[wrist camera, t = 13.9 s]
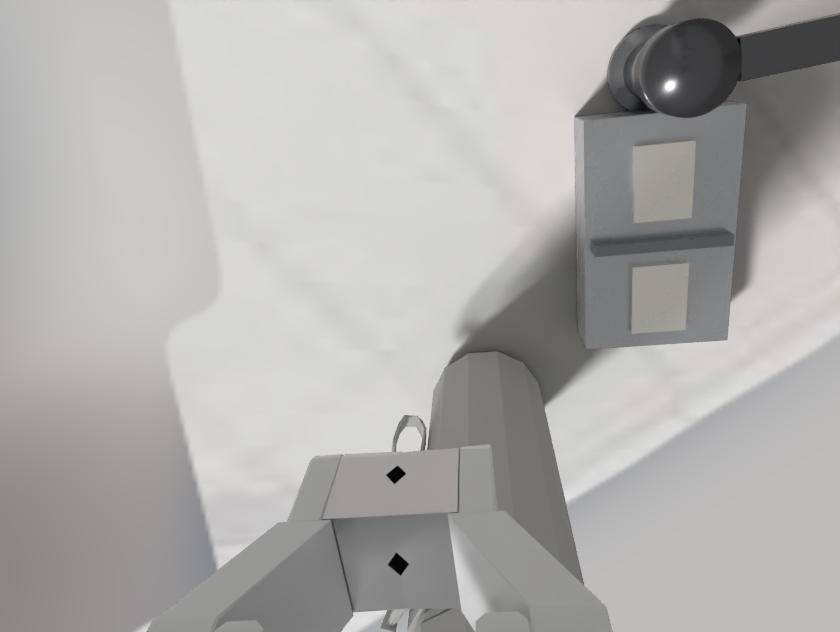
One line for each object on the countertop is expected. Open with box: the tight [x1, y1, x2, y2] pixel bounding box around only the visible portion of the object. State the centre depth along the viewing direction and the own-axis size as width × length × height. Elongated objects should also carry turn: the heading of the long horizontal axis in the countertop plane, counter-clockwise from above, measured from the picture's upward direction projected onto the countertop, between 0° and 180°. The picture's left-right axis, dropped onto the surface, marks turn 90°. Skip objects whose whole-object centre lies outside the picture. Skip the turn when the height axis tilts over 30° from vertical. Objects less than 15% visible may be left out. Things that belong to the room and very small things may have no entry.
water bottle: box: [380, 351, 584, 632], centre depth 29 cm, size 9×8×25 cm
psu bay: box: [574, 101, 747, 349], centre depth 34 cm, size 13×8×4 cm, turn 6°
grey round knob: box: [607, 24, 667, 111], centre depth 31 cm, size 4×4×4 cm
